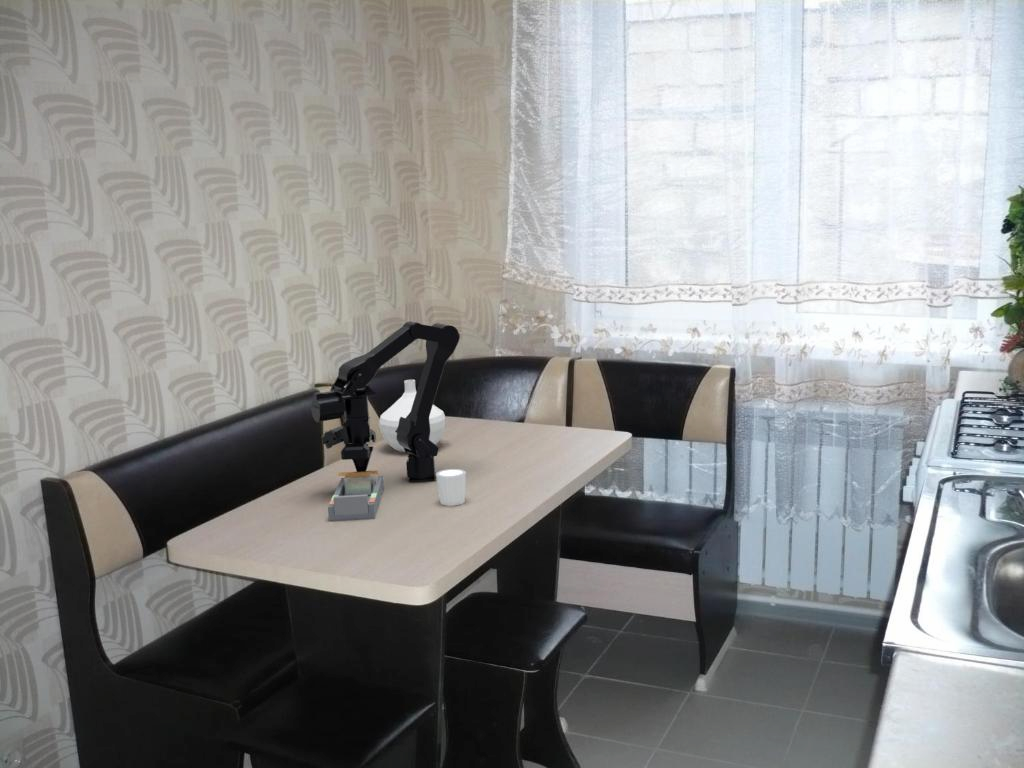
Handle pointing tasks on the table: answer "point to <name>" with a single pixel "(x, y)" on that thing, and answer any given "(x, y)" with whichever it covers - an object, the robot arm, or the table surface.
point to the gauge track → (355, 503)
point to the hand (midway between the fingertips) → (361, 478)
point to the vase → (402, 409)
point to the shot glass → (451, 486)
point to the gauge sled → (358, 482)
